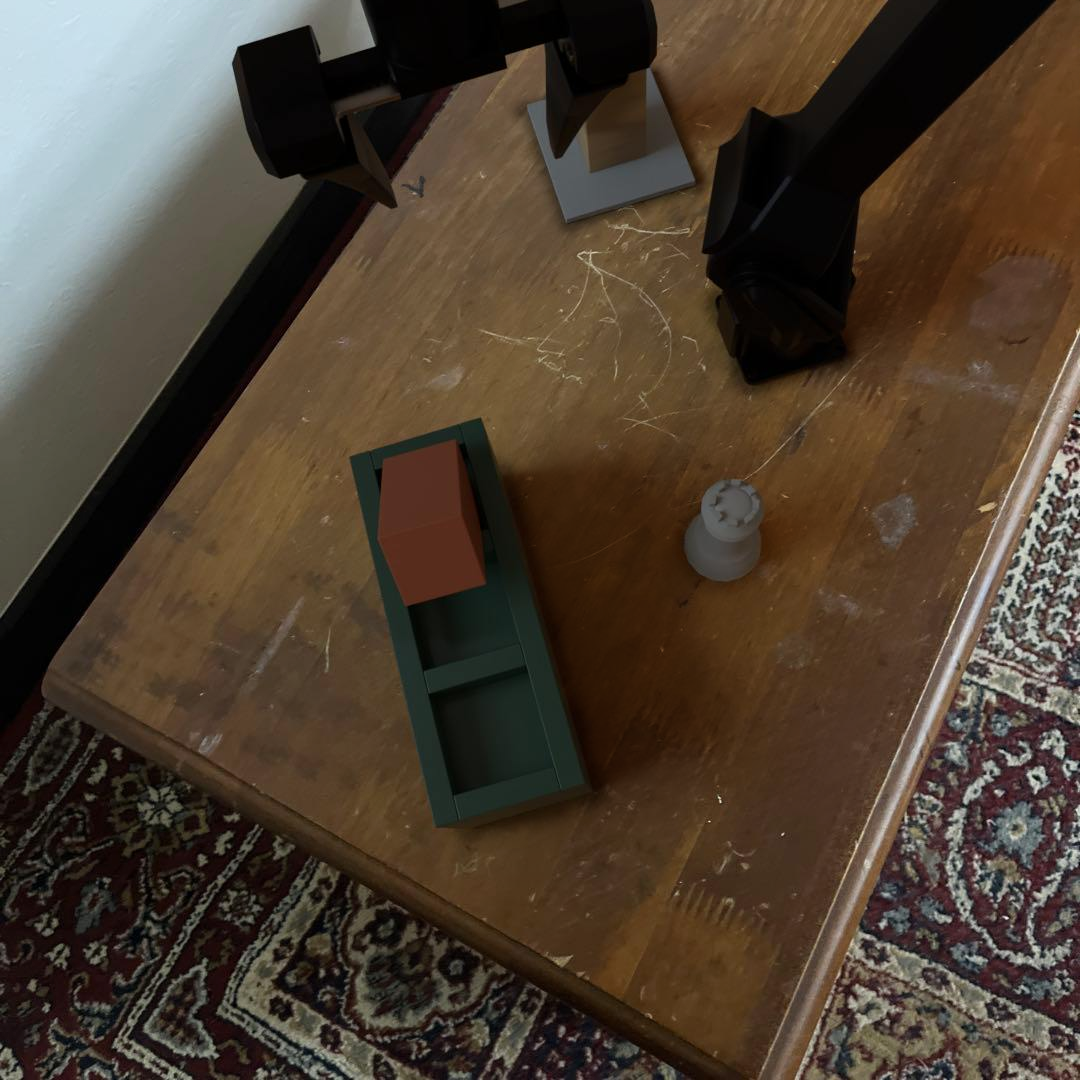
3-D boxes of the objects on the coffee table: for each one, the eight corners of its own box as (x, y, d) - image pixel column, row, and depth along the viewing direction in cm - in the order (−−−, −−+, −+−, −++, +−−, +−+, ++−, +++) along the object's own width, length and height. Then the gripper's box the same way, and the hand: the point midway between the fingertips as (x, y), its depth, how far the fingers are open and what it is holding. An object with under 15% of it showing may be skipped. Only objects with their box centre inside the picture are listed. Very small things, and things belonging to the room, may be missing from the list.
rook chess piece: (768, 523, 57) (789, 474, 49) (748, 593, 55) (766, 554, 48) (695, 502, 57) (704, 451, 50) (673, 571, 56) (679, 529, 49)
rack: (502, 474, 59) (480, 416, 51) (593, 792, 53) (585, 783, 45) (387, 508, 59) (348, 456, 51) (465, 829, 53) (434, 828, 45)
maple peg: (628, 111, 66) (627, 16, 58) (646, 156, 64) (647, 65, 57) (572, 128, 66) (564, 34, 58) (589, 173, 65) (582, 84, 57)
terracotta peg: (456, 438, 50) (462, 514, 43) (478, 502, 52) (487, 584, 45) (382, 458, 50) (376, 538, 43) (407, 522, 52) (405, 607, 45)
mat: (649, 72, 67) (650, 67, 67) (695, 185, 64) (695, 180, 64) (527, 109, 67) (526, 104, 67) (566, 224, 64) (566, 219, 64)
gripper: (581, -296, 39) (597, 16, 54) (147, -163, 39) (281, 112, 54) (665, -107, 36) (657, 171, 50) (188, 39, 36) (320, 273, 51)
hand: (474, 176), depth 52 cm, fingers open, 9 cm apart
